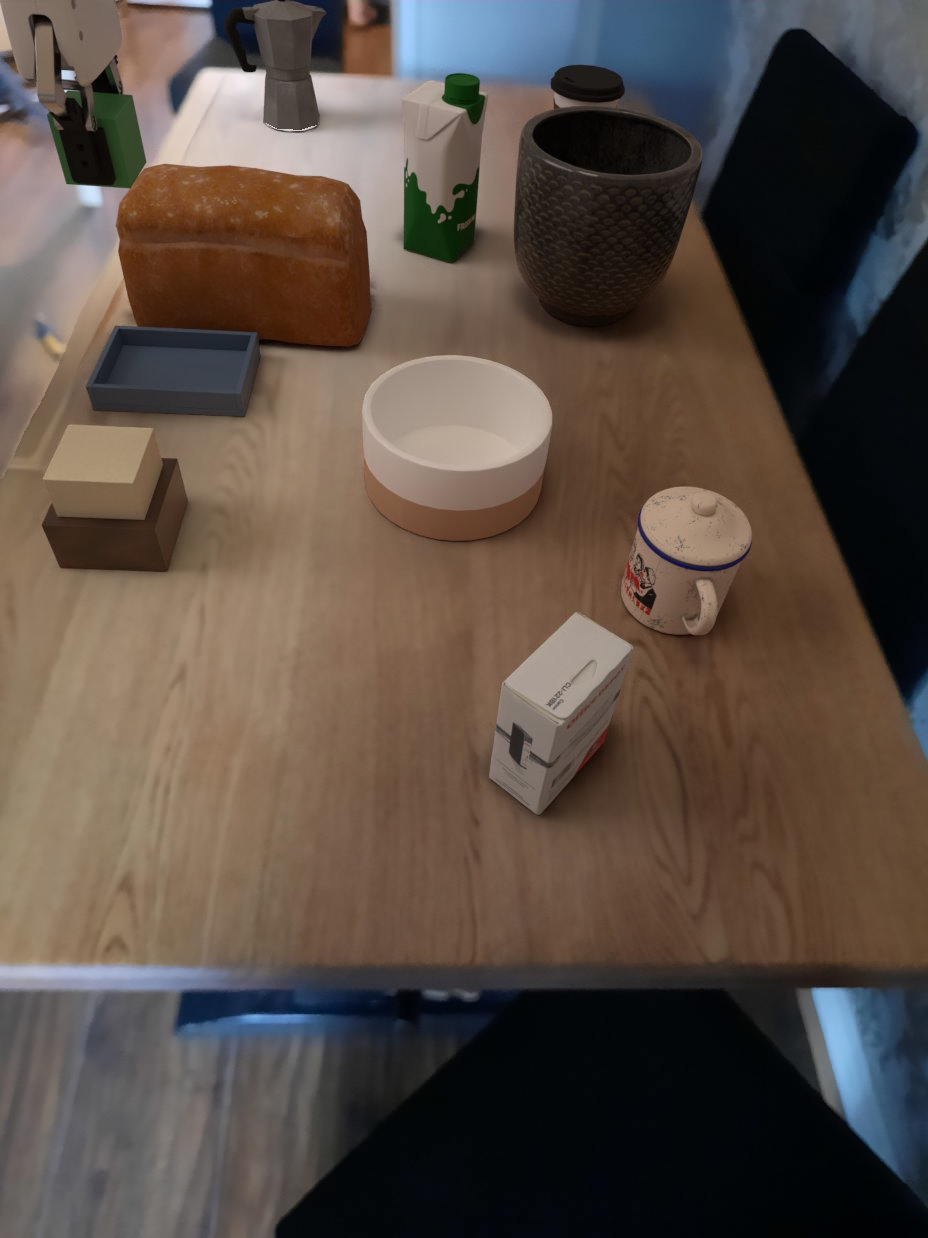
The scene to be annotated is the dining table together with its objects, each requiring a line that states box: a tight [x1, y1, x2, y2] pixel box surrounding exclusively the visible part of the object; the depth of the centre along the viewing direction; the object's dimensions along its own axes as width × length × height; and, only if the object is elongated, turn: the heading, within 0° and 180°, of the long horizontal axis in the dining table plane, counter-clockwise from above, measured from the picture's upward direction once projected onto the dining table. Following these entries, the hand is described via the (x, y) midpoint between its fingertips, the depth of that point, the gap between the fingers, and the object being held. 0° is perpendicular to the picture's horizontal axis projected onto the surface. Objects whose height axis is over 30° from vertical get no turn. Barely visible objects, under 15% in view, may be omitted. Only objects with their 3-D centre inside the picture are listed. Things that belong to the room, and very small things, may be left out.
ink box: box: [488, 611, 634, 816], centre depth 59 cm, size 8×5×12 cm, turn 140°
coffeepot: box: [223, 0, 327, 130], centre depth 130 cm, size 15×9×18 cm, turn 114°
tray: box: [85, 325, 261, 418], centre depth 89 cm, size 15×11×3 cm
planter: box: [513, 106, 703, 327], centre depth 98 cm, size 20×20×19 cm
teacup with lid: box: [620, 486, 753, 636], centre depth 69 cm, size 12×9×12 cm
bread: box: [115, 163, 372, 347], centre depth 94 cm, size 14×26×16 cm, turn 87°
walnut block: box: [41, 457, 189, 572], centre depth 74 cm, size 9×9×5 cm
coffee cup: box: [550, 64, 626, 109], centre depth 128 cm, size 11×11×12 cm
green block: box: [46, 90, 147, 189], centre depth 67 cm, size 5×5×5 cm
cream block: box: [42, 423, 163, 520], centre depth 70 cm, size 7×7×4 cm
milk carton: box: [400, 72, 489, 264], centre depth 106 cm, size 9×9×20 cm
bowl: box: [361, 354, 553, 542], centre depth 80 cm, size 17×17×8 cm
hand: (105, 164), depth 68 cm, fingers closed on green block, 5 cm apart
